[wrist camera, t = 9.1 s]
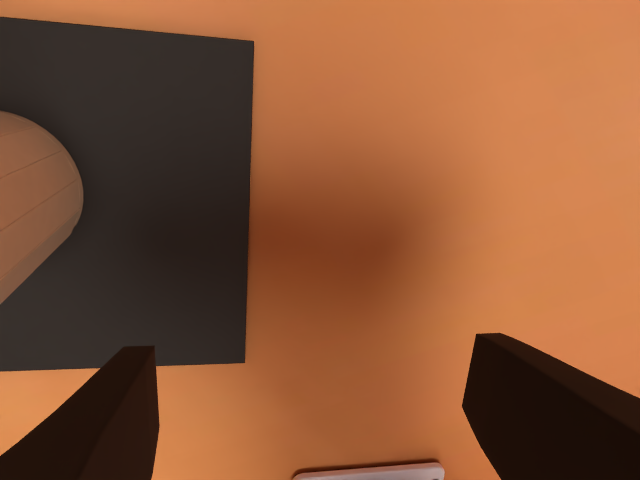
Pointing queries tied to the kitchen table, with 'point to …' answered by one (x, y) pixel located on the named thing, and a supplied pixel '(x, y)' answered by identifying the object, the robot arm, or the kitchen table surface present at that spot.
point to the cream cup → (33, 198)
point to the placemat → (135, 194)
